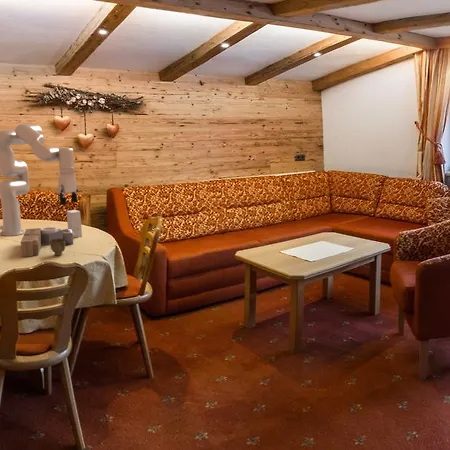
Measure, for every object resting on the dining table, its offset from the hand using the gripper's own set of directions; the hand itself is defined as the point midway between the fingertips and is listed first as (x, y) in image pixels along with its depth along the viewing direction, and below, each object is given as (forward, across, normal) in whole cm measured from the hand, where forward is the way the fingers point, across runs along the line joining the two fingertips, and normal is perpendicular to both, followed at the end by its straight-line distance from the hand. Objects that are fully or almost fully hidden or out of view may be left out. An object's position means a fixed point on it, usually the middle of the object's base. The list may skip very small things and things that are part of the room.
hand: (68, 203), depth 269 cm
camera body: (+22, +1, -13) cm, 26 cm away
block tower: (+22, +18, -10) cm, 30 cm away
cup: (+23, +22, +9) cm, 33 cm away
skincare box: (+22, -17, -10) cm, 30 cm away
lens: (+22, +1, -1) cm, 22 cm away
